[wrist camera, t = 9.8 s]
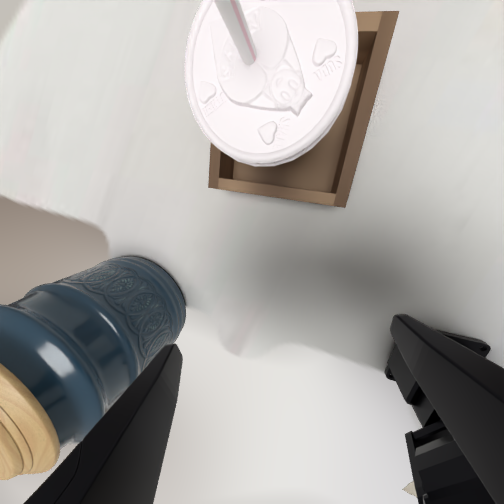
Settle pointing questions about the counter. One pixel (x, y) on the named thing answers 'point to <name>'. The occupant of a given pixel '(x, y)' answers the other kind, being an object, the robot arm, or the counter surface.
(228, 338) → the counter surface
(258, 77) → the smoothie
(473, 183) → the counter surface
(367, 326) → the counter surface
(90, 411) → the canister
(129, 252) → the counter surface
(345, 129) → the wooden box
